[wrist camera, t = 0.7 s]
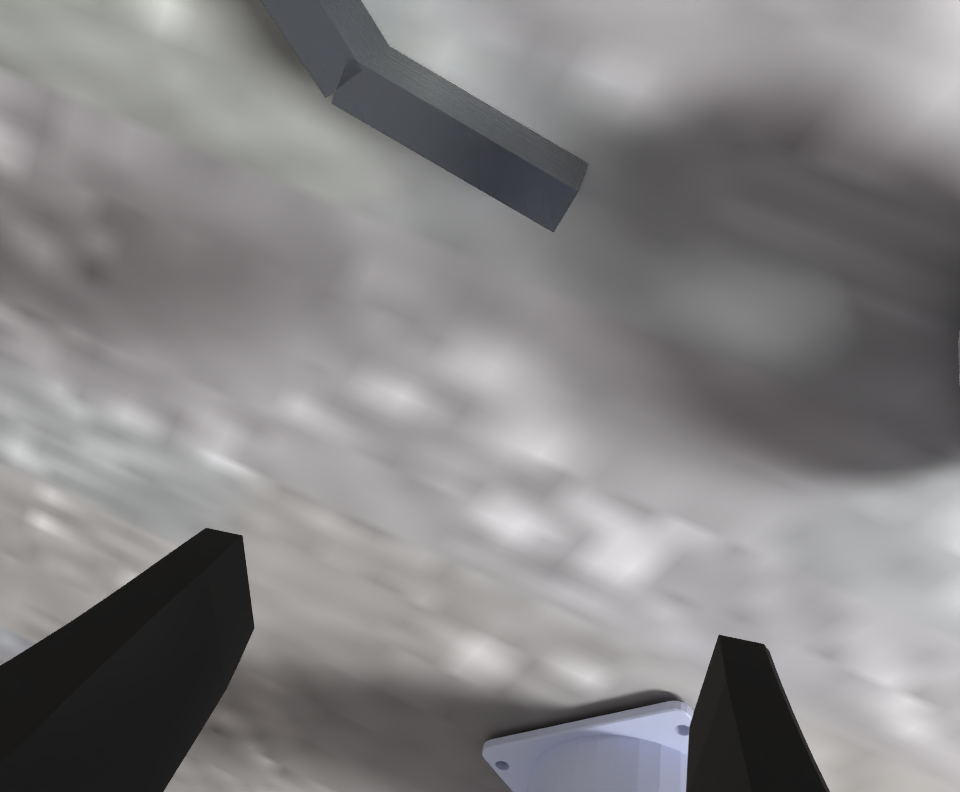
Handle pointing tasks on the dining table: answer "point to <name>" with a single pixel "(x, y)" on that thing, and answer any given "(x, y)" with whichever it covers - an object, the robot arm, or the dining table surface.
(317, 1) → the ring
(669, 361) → the dining table surface
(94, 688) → the robot arm
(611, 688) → the dining table surface
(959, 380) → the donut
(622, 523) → the dining table surface
